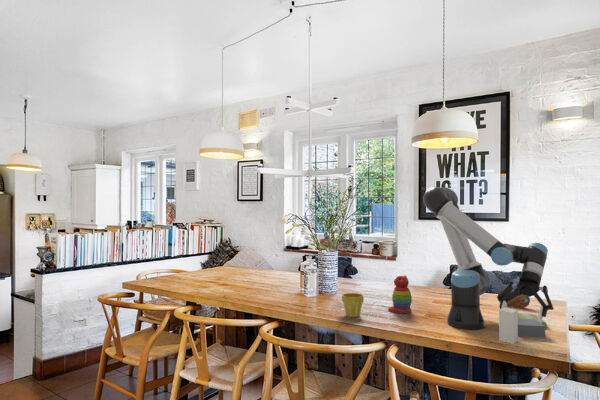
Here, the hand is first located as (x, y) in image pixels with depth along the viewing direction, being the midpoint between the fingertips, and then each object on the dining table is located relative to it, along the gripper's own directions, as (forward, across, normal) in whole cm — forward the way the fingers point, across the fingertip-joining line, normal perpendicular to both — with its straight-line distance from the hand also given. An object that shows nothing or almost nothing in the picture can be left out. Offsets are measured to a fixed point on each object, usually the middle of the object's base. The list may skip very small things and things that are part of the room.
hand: (519, 319), depth 156 cm
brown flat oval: (-32, +21, -46) cm, 59 cm away
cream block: (+9, +3, -2) cm, 9 cm away
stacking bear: (+4, +56, -8) cm, 56 cm away
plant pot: (+20, +68, +10) cm, 71 cm away
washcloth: (-14, +7, -27) cm, 31 cm away
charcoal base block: (-2, +1, -14) cm, 14 cm away
